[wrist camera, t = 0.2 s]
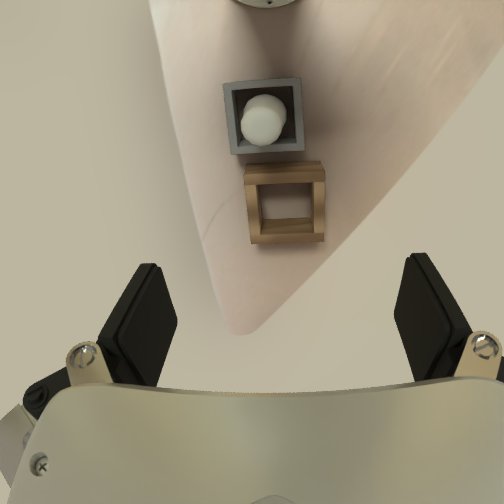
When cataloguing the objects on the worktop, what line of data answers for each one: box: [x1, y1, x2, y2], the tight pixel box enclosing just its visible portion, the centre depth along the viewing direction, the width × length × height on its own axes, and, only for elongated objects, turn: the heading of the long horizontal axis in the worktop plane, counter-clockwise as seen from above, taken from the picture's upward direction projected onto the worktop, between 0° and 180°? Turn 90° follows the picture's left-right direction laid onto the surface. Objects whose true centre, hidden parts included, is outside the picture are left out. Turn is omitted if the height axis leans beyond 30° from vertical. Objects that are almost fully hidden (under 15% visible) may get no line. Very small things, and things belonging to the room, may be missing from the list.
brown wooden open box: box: [243, 161, 325, 244], centre depth 45 cm, size 11×11×5 cm
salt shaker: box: [241, 94, 287, 146], centre depth 35 cm, size 6×6×13 cm
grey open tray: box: [223, 78, 305, 155], centre depth 39 cm, size 10×10×4 cm
